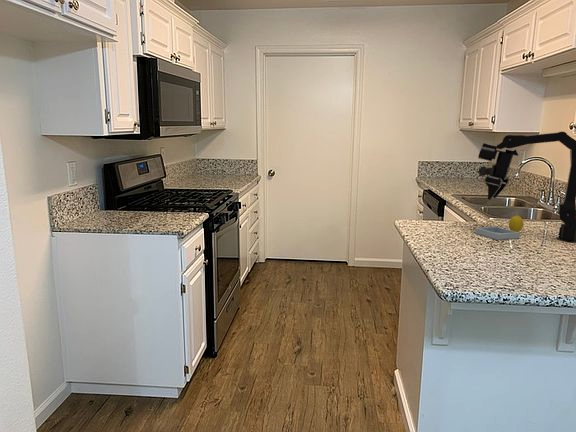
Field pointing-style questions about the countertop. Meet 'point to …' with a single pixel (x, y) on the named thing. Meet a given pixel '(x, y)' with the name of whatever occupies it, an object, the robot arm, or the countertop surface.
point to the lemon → (516, 223)
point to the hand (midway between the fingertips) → (491, 198)
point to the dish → (497, 233)
